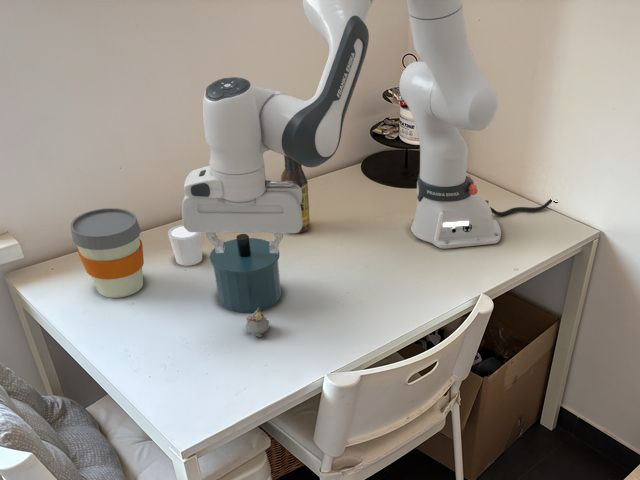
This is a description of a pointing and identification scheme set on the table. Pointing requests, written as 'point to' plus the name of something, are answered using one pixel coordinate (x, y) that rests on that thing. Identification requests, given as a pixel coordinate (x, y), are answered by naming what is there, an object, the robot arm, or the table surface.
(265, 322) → the figurine
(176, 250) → the white cylinder
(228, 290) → the pot
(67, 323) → the table surface
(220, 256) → the pot lid
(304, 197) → the sauce bottle
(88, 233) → the reusable coffee cup
